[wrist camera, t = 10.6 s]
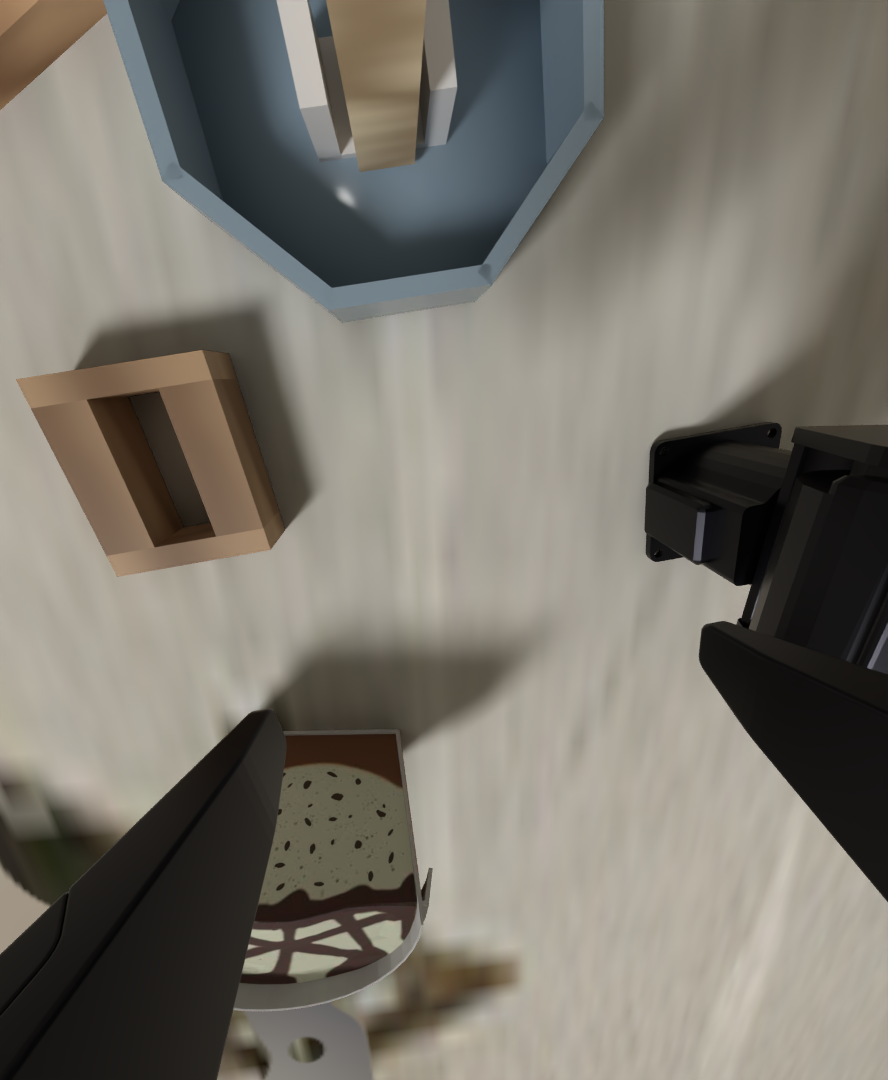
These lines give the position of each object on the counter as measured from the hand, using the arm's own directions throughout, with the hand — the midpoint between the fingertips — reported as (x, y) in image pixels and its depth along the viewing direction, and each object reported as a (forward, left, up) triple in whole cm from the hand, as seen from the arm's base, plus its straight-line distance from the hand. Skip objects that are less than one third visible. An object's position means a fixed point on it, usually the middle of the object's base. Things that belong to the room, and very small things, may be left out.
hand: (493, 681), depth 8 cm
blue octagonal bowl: (0, -15, -13) cm, 20 cm away
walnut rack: (+11, -4, -13) cm, 17 cm away
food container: (+10, +16, -13) cm, 23 cm away
